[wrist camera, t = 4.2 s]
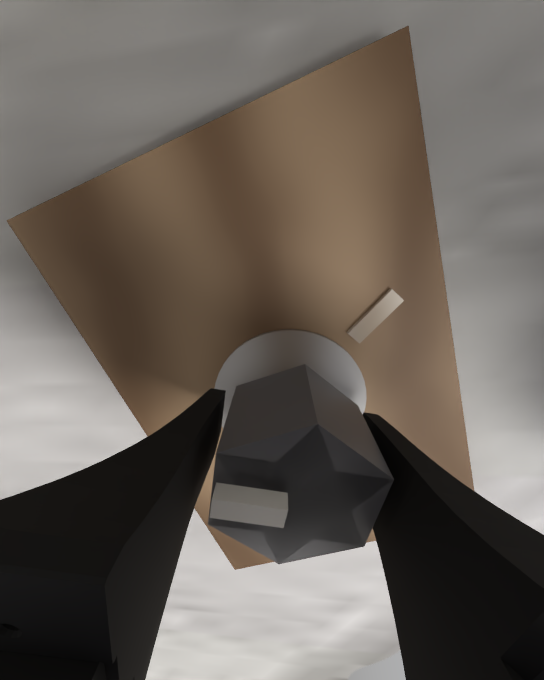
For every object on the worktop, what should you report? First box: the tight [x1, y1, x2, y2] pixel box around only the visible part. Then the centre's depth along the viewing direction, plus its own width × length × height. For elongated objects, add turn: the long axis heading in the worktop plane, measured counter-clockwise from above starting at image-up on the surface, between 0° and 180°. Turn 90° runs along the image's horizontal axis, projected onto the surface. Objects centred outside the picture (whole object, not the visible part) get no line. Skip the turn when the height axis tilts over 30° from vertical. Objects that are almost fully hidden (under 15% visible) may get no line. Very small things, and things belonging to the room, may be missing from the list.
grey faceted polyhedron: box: [208, 364, 394, 564], centre depth 9 cm, size 5×6×4 cm
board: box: [7, 26, 474, 570], centre depth 12 cm, size 15×22×2 cm
